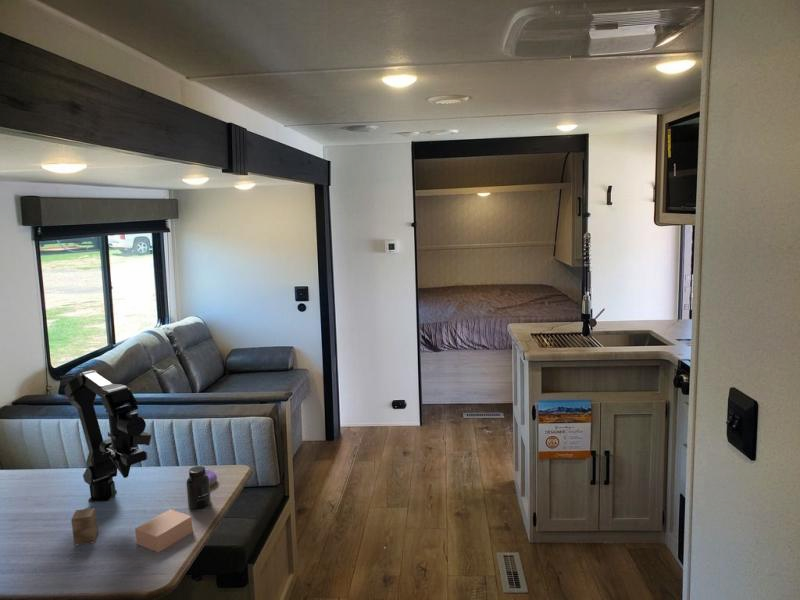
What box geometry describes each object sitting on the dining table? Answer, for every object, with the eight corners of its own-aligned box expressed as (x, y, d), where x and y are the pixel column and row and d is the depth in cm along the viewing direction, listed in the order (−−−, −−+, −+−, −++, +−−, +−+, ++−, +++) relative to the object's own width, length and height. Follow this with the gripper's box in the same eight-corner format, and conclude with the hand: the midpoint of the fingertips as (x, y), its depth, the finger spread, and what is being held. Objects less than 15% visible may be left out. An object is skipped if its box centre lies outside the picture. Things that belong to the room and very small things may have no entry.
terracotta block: (135, 528, 172) (156, 536, 168) (170, 509, 183) (191, 516, 178) (136, 545, 173) (158, 553, 169) (171, 524, 183) (192, 532, 179)
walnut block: (74, 545, 173) (71, 519, 172) (79, 536, 178) (76, 510, 177) (93, 542, 174) (90, 516, 173) (98, 533, 179) (95, 507, 178)
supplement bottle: (204, 511, 190) (201, 474, 188) (184, 509, 192) (180, 473, 189) (215, 500, 197) (212, 465, 195) (195, 498, 198) (192, 463, 196)
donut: (187, 479, 211) (189, 466, 211) (215, 480, 214) (217, 467, 214) (186, 492, 202) (188, 478, 201) (215, 493, 205) (217, 479, 204)
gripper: (161, 427, 185) (166, 476, 188) (131, 414, 197) (136, 460, 200) (125, 439, 177) (130, 490, 179) (96, 424, 189) (101, 472, 192)
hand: (125, 477), depth 188 cm, fingers closed
